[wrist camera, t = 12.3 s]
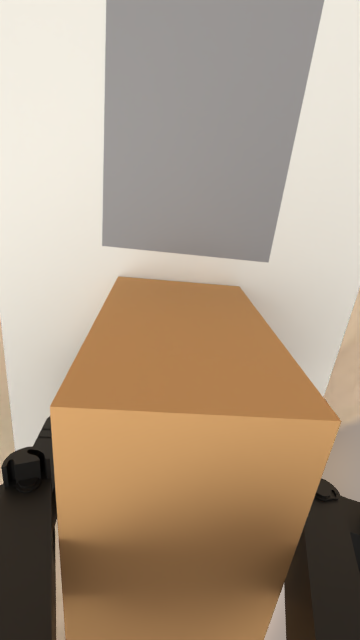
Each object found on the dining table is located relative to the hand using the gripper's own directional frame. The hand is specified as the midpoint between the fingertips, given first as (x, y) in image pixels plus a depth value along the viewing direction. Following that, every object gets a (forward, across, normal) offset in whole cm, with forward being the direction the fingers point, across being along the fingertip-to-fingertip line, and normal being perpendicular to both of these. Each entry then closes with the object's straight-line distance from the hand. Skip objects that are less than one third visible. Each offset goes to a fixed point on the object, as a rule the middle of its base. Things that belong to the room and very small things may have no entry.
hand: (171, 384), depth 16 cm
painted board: (+3, 0, -3) cm, 4 cm away
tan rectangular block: (+1, 0, 0) cm, 1 cm away
